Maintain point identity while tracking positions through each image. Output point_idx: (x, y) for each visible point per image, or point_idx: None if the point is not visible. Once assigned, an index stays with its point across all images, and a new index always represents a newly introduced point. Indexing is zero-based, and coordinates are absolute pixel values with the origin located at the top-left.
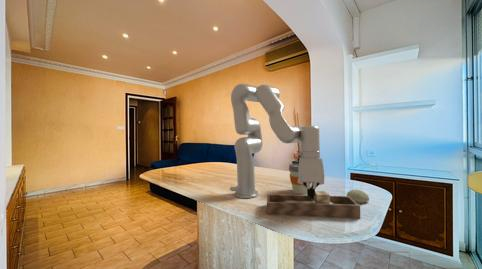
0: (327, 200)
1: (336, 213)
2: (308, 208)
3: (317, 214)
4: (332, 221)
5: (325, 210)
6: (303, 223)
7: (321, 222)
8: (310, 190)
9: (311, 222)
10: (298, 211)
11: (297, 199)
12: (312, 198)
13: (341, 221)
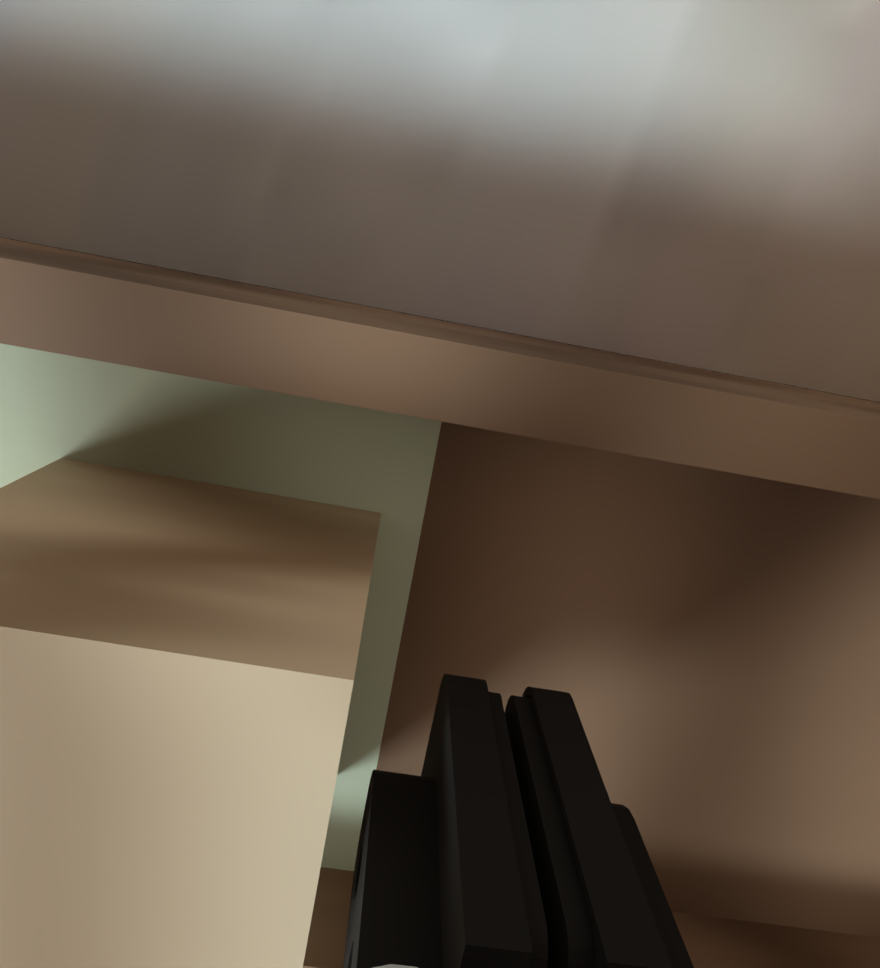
0: (31, 525)
1: (5, 241)
2: (673, 372)
3: (444, 322)
4: (213, 62)
5: (247, 294)
6: (867, 21)
7: (469, 34)
8: (620, 908)
9: (680, 55)
10: (863, 404)
11: (691, 924)
12: (481, 686)
13: (15, 43)
